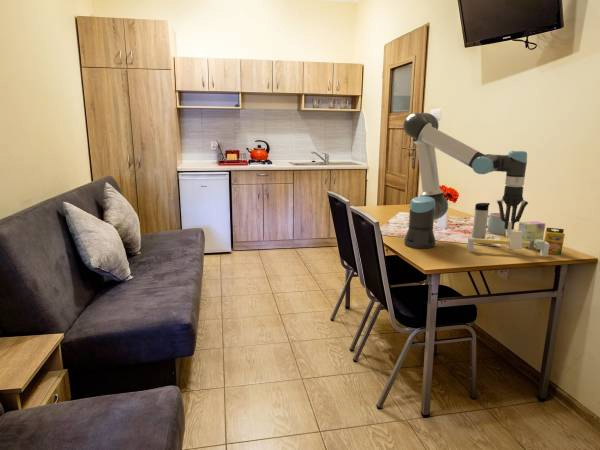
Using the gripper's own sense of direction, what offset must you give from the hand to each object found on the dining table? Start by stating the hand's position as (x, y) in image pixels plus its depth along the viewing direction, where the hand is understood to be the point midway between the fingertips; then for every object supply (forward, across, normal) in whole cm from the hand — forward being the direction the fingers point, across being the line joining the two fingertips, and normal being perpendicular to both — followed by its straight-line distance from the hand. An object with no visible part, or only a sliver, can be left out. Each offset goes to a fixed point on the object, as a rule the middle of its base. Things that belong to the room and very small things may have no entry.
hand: (508, 236), depth 191 cm
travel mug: (+8, -9, +18) cm, 22 cm away
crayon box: (+8, +21, +5) cm, 23 cm away
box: (+8, +14, +15) cm, 22 cm away
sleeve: (+6, +3, 0) cm, 6 cm away
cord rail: (+8, 0, 0) cm, 8 cm away
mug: (+8, +2, +40) cm, 41 cm away
